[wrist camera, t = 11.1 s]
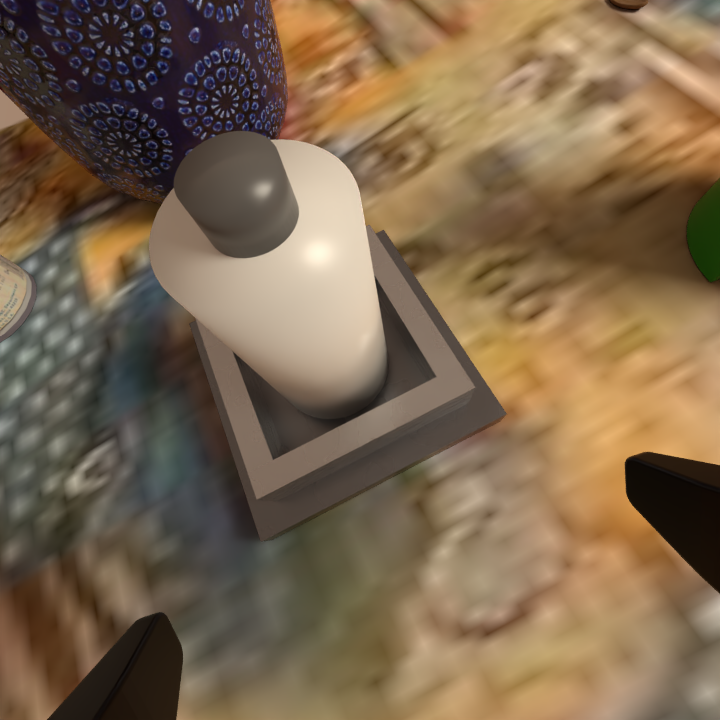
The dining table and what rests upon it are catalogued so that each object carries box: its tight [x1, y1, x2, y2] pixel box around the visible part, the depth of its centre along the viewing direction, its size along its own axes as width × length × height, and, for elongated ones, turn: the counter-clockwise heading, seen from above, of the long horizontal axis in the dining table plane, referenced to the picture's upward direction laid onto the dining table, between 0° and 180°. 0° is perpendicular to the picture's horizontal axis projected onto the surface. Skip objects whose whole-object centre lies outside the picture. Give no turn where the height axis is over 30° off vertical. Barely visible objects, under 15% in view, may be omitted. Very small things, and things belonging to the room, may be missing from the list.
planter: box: [0, 0, 288, 203], centre depth 24 cm, size 16×16×15 cm
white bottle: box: [149, 131, 389, 419], centre depth 15 cm, size 6×6×13 cm
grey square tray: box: [189, 225, 506, 542], centre depth 20 cm, size 13×13×4 cm
